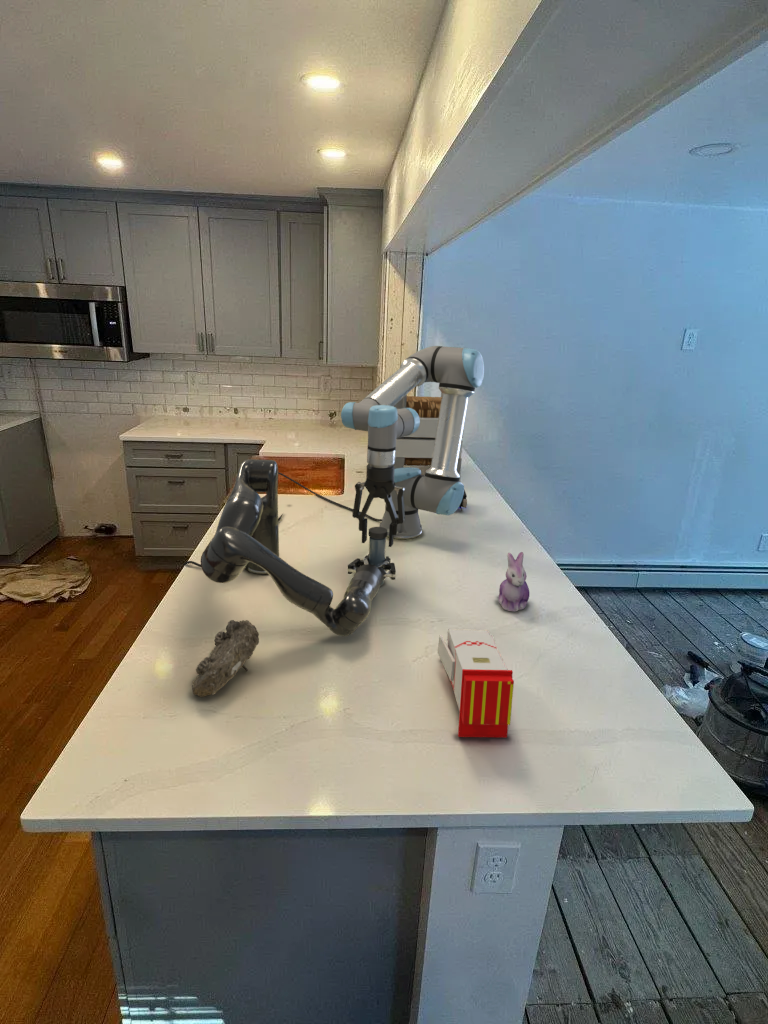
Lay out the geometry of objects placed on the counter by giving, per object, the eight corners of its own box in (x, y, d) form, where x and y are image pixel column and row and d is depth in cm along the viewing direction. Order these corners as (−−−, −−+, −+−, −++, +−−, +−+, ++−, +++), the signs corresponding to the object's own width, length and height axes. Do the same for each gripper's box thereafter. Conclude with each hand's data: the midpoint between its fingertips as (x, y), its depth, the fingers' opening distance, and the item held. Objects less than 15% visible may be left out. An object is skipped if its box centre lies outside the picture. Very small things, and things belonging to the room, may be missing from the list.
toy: (488, 613, 130) (523, 677, 101) (484, 667, 133) (517, 744, 104) (435, 612, 130) (455, 676, 101) (432, 666, 133) (451, 743, 103)
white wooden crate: (382, 463, 289) (386, 382, 275) (445, 464, 293) (451, 384, 279) (390, 482, 257) (394, 392, 243) (460, 483, 261) (468, 394, 247)
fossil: (211, 622, 131) (258, 592, 126) (240, 650, 134) (286, 622, 129) (171, 690, 112) (224, 658, 107) (205, 721, 115) (258, 691, 110)
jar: (377, 577, 167) (380, 528, 162) (387, 584, 163) (389, 533, 158) (364, 581, 164) (366, 531, 159) (373, 587, 161) (375, 536, 155)
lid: (385, 539, 156) (385, 534, 155) (366, 537, 157) (366, 532, 156) (388, 533, 161) (389, 527, 160) (370, 531, 162) (371, 525, 161)
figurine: (511, 616, 149) (518, 564, 143) (487, 598, 157) (493, 549, 152) (539, 609, 153) (547, 558, 148) (514, 592, 161) (521, 544, 156)
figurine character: (467, 516, 223) (461, 500, 237) (469, 499, 220) (463, 483, 233) (450, 516, 223) (446, 499, 236) (452, 498, 220) (447, 483, 233)
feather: (290, 508, 223) (292, 504, 223) (272, 532, 197) (275, 527, 196) (286, 505, 223) (289, 501, 223) (268, 529, 197) (271, 525, 196)
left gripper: (338, 593, 151) (354, 566, 167) (391, 600, 148) (402, 572, 164) (338, 567, 148) (355, 543, 164) (392, 574, 146) (403, 549, 162)
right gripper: (420, 464, 153) (414, 542, 161) (349, 457, 157) (347, 534, 165) (414, 471, 146) (409, 553, 154) (340, 464, 150) (339, 543, 158)
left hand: (378, 558), depth 164 cm, fingers closed on jar, 4 cm apart
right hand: (377, 543), depth 160 cm, fingers open, 7 cm apart
